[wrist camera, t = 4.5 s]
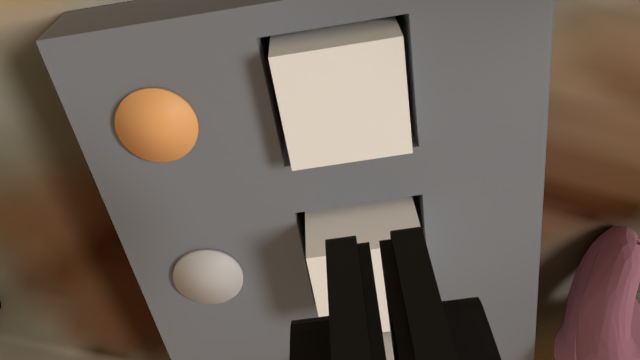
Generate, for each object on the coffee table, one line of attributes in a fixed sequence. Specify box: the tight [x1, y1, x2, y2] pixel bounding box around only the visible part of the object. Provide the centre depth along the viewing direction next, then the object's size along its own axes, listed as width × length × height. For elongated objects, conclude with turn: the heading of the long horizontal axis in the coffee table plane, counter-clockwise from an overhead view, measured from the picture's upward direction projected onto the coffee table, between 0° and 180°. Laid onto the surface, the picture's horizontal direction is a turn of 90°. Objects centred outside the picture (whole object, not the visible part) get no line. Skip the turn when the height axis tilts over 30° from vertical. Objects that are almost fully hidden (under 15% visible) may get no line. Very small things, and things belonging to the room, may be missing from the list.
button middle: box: [305, 196, 421, 332], centre depth 20 cm, size 4×4×3 cm
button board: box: [35, 0, 554, 360], centre depth 22 cm, size 14×18×3 cm
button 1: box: [268, 16, 413, 171], centre depth 18 cm, size 4×4×3 cm
